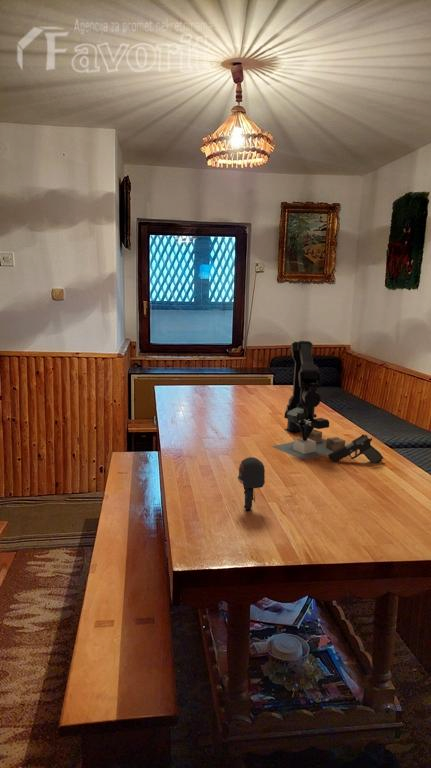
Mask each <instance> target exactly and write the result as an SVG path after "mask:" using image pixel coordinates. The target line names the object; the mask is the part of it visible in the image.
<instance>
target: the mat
mask: <svg viewBox="0 0 431 768" xmlns="http://www.w3.org/2000/svg"><path fill="white" fill-rule="evenodd" d="M326 442H327V439H325V438H322V441H321V442H318V443H316V447H315V452H310V453H306V454H303V453H300V452H298V451H295V450H293V441H291V442H287V443H281V444H276V445H272V446H271V448H274V449H277V450H278V451H280V452H283V453H285V454H287V455H290V456H293V457H294V458H297V459H300V460H302V461H307V460H311V459H315V458H319V457H324V456H328V455H329V454H331V453H333V451H331V450H329V449H327V448H326Z"/></svg>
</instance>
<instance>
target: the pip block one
mask: <svg viewBox="0 0 431 768" xmlns="http://www.w3.org/2000/svg"><path fill="white" fill-rule="evenodd" d="M308 439H311V440H313V441H316V443H318V442H321V441H322V439H323V431H320V430H318V429H317V430H316V429H313V430H312V432H311V433H310V435H309V437H308Z"/></svg>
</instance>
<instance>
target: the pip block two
mask: <svg viewBox="0 0 431 768" xmlns="http://www.w3.org/2000/svg"><path fill="white" fill-rule="evenodd" d="M326 440H327V442H326V448H327V449H329V450H331V451H333V452H334V451H336V450H338V449H339V448H341V447H343V446H345V445H346V439H342V438H341V437H337V436H334V437H326Z"/></svg>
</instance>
